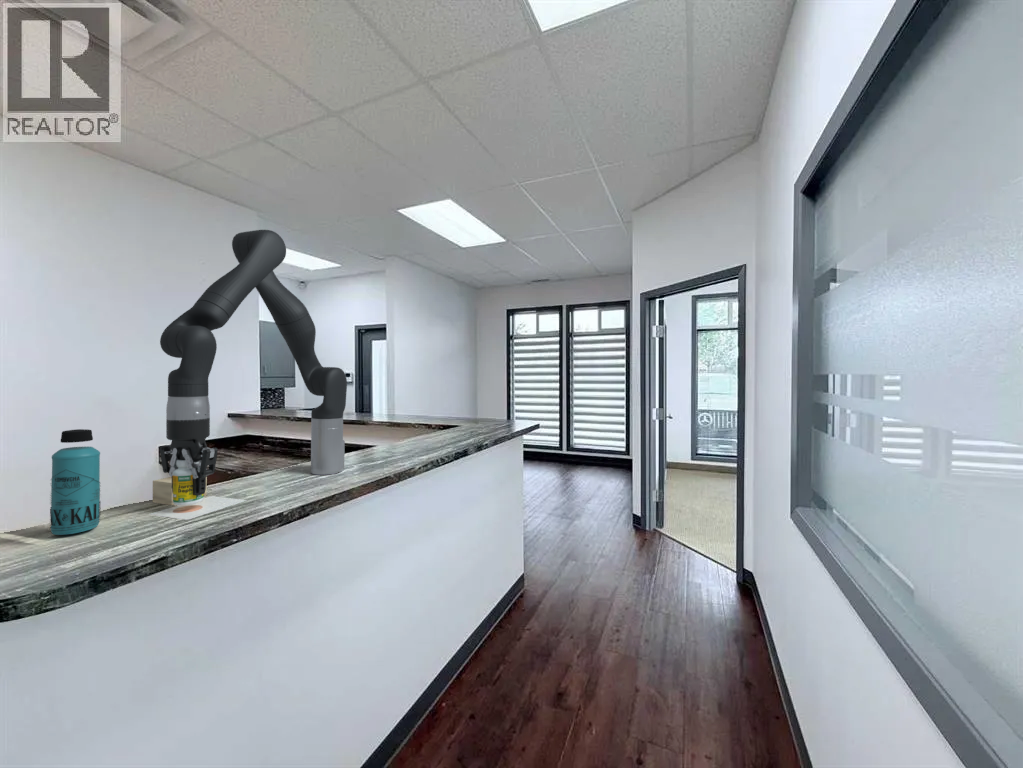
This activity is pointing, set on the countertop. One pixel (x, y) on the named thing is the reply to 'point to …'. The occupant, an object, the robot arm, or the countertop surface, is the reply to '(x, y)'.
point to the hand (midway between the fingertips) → (188, 493)
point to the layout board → (198, 508)
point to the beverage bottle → (75, 485)
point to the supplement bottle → (184, 485)
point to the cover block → (165, 491)
